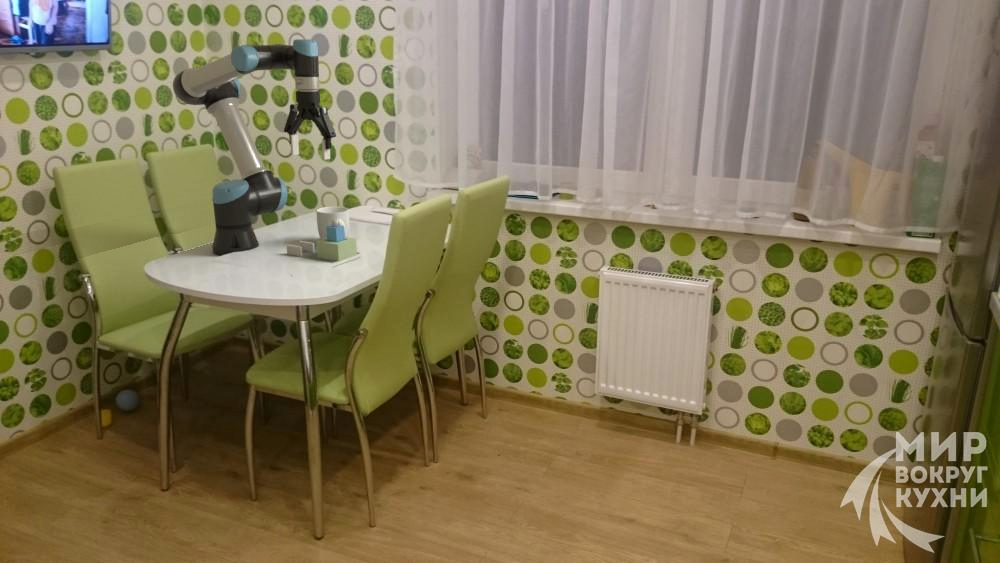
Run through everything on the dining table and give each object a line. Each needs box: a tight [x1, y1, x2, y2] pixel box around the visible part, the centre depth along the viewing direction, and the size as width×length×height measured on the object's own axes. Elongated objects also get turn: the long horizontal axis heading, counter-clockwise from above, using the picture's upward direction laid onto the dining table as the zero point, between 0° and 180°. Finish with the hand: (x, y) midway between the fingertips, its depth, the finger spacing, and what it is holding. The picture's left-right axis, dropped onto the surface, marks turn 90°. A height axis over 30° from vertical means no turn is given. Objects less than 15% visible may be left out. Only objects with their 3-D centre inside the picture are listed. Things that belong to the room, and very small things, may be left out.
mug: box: [316, 206, 351, 240], centre depth 278 cm, size 15×11×13 cm
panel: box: [285, 240, 361, 268], centre depth 266 cm, size 20×14×4 cm
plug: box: [326, 220, 345, 243], centre depth 262 cm, size 4×4×12 cm
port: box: [316, 236, 358, 262], centre depth 263 cm, size 9×9×6 cm
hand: (310, 157), depth 263 cm, fingers open, 13 cm apart
